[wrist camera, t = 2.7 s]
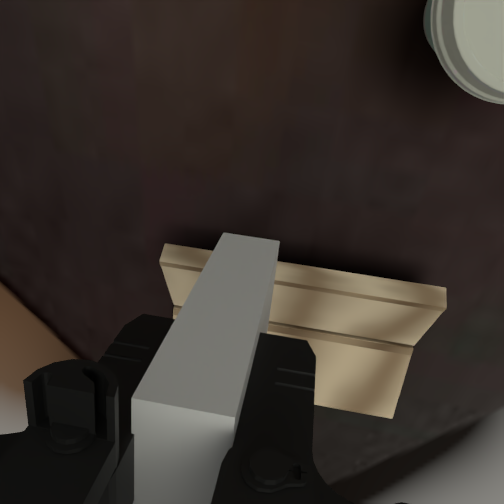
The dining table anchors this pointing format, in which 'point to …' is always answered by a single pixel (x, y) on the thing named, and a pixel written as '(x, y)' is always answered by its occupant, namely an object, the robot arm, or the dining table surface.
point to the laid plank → (351, 368)
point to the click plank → (326, 297)
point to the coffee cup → (469, 43)
